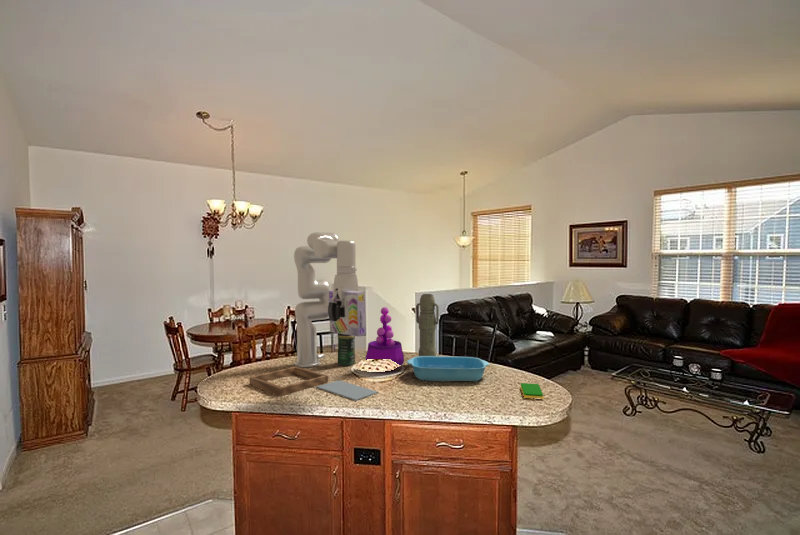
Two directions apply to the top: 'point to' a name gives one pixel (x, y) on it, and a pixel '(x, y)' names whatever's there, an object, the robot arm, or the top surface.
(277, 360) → the top surface
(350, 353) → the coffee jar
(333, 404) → the top surface
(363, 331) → the cake pan box
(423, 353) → the thermos
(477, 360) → the casserole dish
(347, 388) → the mat
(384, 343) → the decorative plant
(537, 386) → the dish sponge
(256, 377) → the frame
